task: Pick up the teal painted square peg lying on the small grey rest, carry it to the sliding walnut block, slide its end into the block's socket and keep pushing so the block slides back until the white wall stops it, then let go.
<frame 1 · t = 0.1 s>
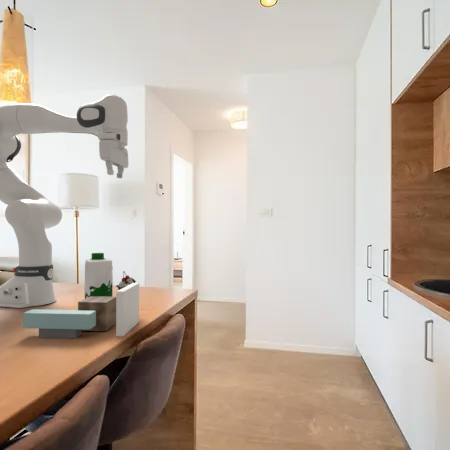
hand: (115, 176, 132), 48 cm above the table, tool pointing down, fingers open, 8 cm apart
milk carton: (98, 313, 120), on the table
block: (97, 312, 102), point 4 cm above the table, slide at 0.0 cm
wall: (128, 328, 102), on the table
sundae: (126, 317, 115), on the table
rest: (59, 335, 95), on the table
peg: (59, 326, 95), point 2 cm above the table, touching rest
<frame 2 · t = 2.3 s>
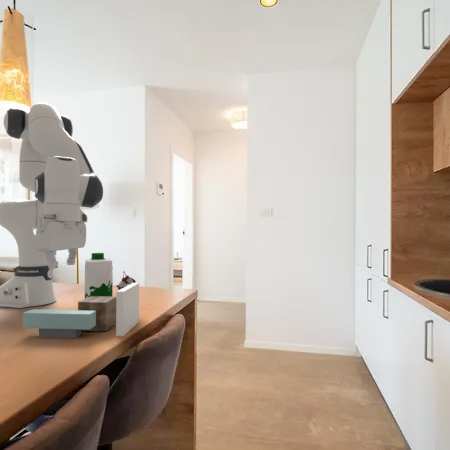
hand: (62, 266, 95), 19 cm above the table, tool pointing down, fingers open, 8 cm apart
nothing on the table moved.
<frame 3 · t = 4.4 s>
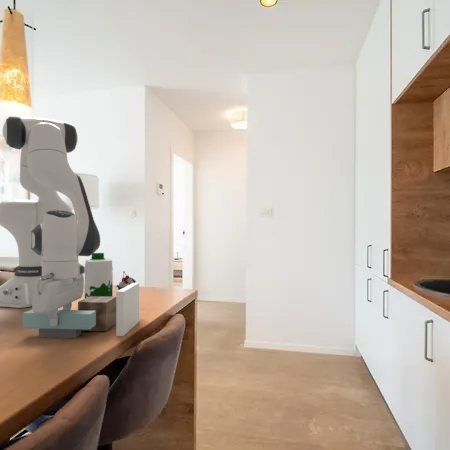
hand: (59, 322, 95), 4 cm above the table, tool pointing down, fingers closed on peg, 4 cm apart
peg: (59, 326, 95), point 2 cm above the table, touching gripper, rest
everything else where it was.
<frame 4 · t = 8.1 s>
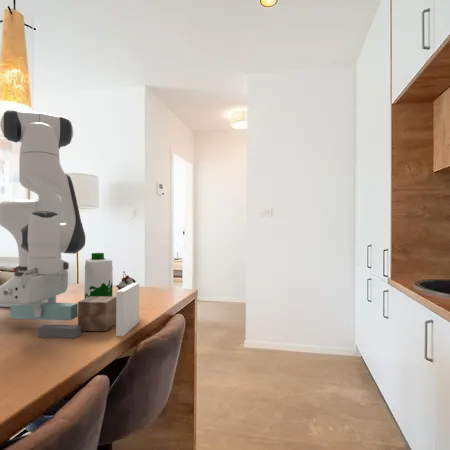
hand: (44, 313, 103), 4 cm above the table, tool pointing down, fingers closed on peg, 4 cm apart
peg: (44, 317, 103), point 3 cm above the table, touching gripper
everything else where it was.
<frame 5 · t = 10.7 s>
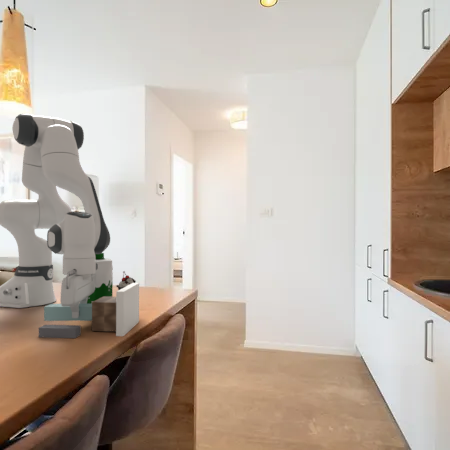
hand: (79, 315, 103), 4 cm above the table, tool pointing down, fingers closed on peg, 4 cm apart
block: (111, 313, 102), point 4 cm above the table, slide at 4.0 cm, touching peg, wall
peg: (78, 318, 103), point 2 cm above the table, touching block, gripper
everything else where it was.
when the fingers open (4 cm above the table, at t = 11.8 s): peg drops 1 cm, resting on block.
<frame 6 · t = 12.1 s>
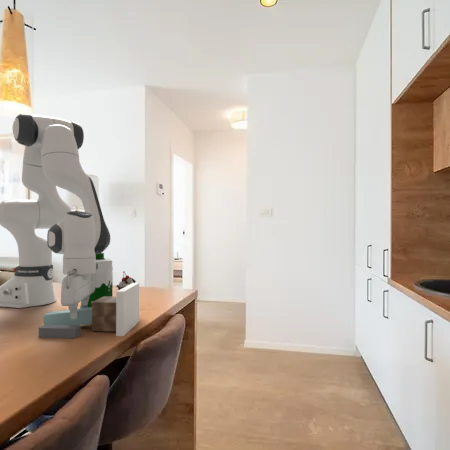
hand: (79, 314, 103), 4 cm above the table, tool pointing down, fingers open, 7 cm apart
peg: (78, 323, 103), point 1 cm above the table, tilted 7°, touching block
everything else where it was.
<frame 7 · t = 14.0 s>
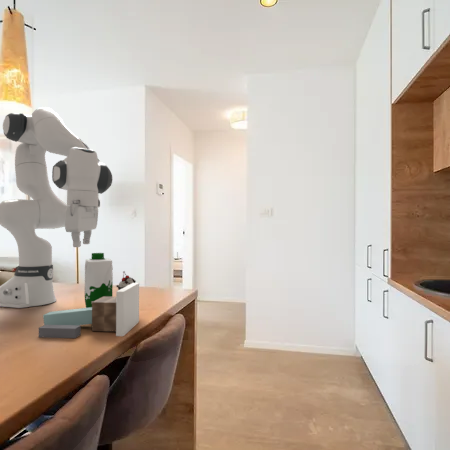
hand: (81, 245, 109), 23 cm above the table, tool pointing down, fingers open, 8 cm apart
nothing on the table moved.
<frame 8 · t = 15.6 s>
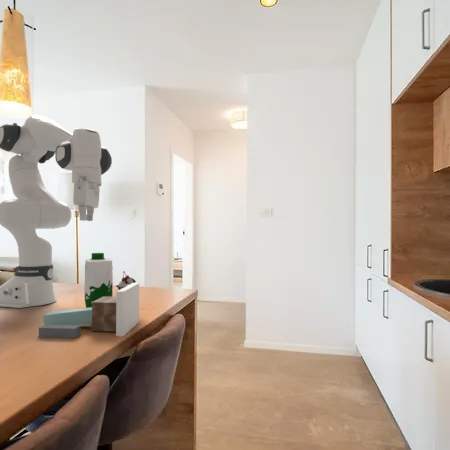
hand: (86, 220, 115), 31 cm above the table, tool pointing down, fingers open, 8 cm apart
nothing on the table moved.
at the end: block slide at 4.0 cm; peg 0.1 cm from the target spot on the table beside the block, point 1.0 cm above the table; the gripper is holding nothing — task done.
